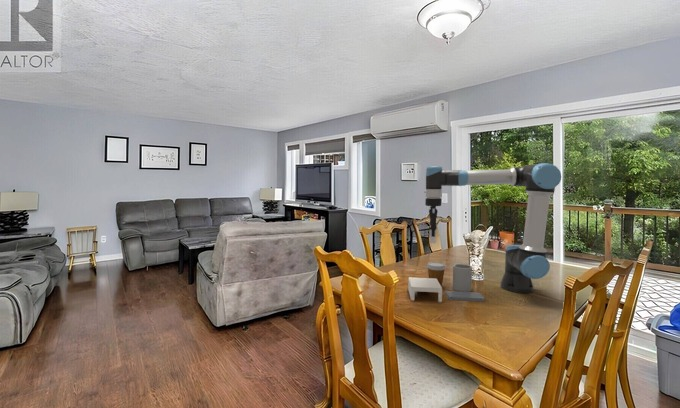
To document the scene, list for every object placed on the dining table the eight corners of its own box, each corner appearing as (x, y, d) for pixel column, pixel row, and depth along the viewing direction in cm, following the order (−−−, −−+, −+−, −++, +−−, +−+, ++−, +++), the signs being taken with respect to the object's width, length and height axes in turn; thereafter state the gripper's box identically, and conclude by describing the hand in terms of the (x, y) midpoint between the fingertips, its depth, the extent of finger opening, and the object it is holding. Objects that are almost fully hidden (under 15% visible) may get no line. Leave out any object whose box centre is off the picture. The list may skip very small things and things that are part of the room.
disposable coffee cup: (446, 289, 164) (446, 267, 164) (426, 288, 166) (427, 266, 165) (443, 284, 174) (444, 262, 173) (425, 282, 176) (426, 261, 175)
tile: (479, 296, 157) (479, 292, 157) (484, 302, 149) (484, 298, 149) (445, 294, 159) (445, 291, 159) (449, 300, 151) (449, 296, 151)
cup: (469, 293, 160) (470, 269, 159) (450, 289, 165) (451, 266, 164) (472, 287, 168) (473, 265, 167) (454, 284, 173) (455, 263, 172)
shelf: (436, 290, 163) (436, 278, 162) (441, 302, 148) (442, 288, 147) (408, 289, 164) (408, 277, 164) (411, 300, 150) (411, 286, 149)
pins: (415, 292, 160) (415, 284, 160) (417, 297, 153) (417, 288, 153) (411, 292, 160) (411, 283, 160) (413, 297, 153) (413, 288, 153)
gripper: (425, 196, 169) (424, 236, 171) (425, 199, 145) (424, 245, 147) (440, 196, 167) (439, 236, 169) (442, 199, 143) (441, 245, 145)
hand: (432, 240), depth 158 cm, fingers open, 13 cm apart
